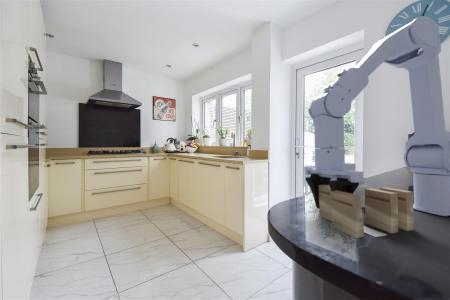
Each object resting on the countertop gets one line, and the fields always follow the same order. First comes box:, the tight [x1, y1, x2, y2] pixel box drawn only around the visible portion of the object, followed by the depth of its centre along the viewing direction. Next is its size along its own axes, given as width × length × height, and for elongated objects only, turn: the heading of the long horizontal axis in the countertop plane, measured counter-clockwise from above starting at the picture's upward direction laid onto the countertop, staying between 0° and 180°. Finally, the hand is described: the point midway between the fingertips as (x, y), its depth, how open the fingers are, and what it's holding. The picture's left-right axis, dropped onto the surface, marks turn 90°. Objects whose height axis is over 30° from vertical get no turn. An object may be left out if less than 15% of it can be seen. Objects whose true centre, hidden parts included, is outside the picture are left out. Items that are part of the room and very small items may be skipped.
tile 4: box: [330, 190, 365, 240], centre depth 37 cm, size 2×5×7 cm, turn 15°
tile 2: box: [364, 188, 399, 234], centre depth 39 cm, size 2×5×7 cm, turn 15°
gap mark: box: [363, 225, 387, 238], centre depth 38 cm, size 3×6×1 cm, turn 15°
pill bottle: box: [355, 176, 369, 208], centre depth 55 cm, size 4×4×8 cm
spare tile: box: [318, 185, 334, 223], centre depth 45 cm, size 2×5×7 cm, turn 15°
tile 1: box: [379, 186, 415, 232], centre depth 40 cm, size 2×5×7 cm, turn 15°
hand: (330, 211), depth 45 cm, fingers closed on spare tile, 5 cm apart
